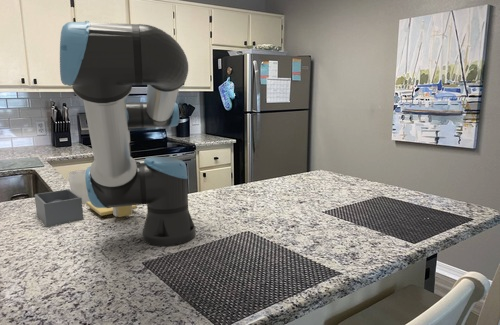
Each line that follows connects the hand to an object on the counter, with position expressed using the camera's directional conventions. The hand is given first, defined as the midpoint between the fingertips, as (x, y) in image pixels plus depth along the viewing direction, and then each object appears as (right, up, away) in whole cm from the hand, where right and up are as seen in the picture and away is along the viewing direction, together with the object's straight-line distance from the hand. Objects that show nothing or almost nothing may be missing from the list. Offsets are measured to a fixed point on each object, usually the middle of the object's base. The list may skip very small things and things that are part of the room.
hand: (122, 213), depth 125 cm
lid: (-5, +1, +7) cm, 9 cm away
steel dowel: (-24, -1, +4) cm, 24 cm away
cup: (-22, +1, +21) cm, 30 cm away
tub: (-22, -2, +2) cm, 22 cm away
